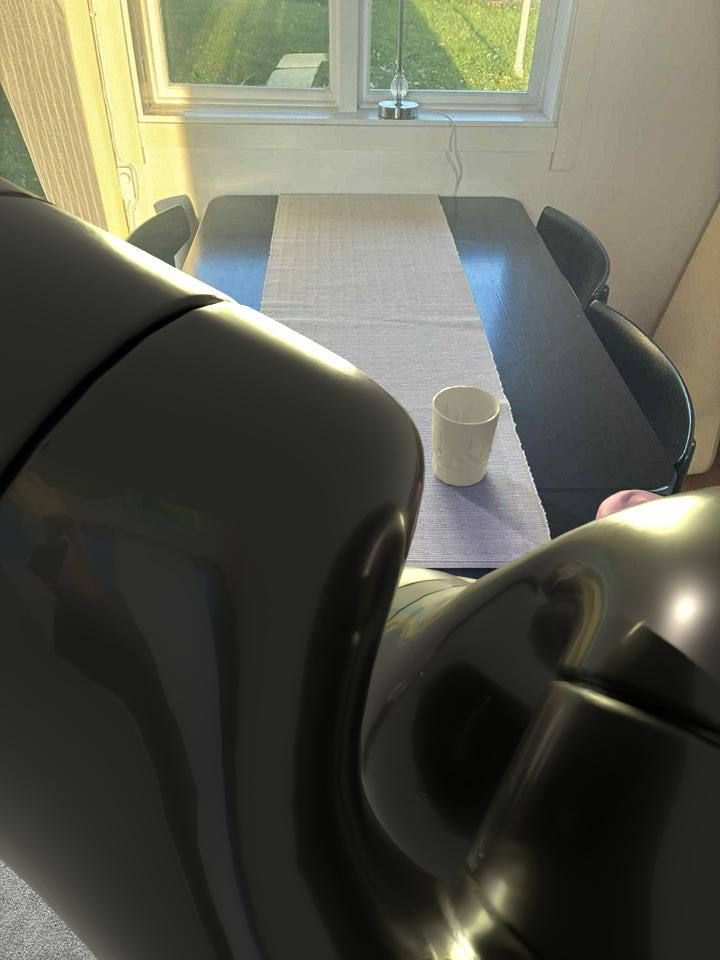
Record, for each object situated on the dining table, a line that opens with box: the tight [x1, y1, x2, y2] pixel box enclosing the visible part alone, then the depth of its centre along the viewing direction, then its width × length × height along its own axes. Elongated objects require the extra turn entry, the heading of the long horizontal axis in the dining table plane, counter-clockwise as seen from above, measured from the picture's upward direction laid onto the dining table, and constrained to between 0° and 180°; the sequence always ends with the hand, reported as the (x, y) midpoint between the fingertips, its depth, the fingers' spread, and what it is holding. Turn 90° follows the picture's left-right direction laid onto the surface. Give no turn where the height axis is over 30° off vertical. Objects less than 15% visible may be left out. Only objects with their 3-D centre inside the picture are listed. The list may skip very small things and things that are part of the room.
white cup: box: [431, 385, 502, 487], centre depth 85 cm, size 8×8×10 cm
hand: (317, 624), depth 40 cm, fingers open, 8 cm apart
